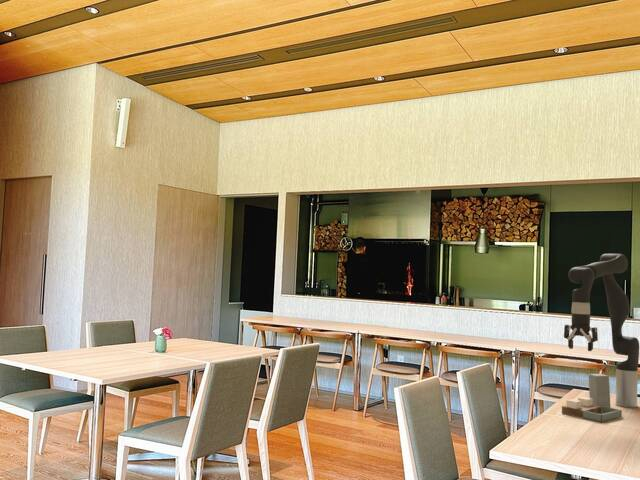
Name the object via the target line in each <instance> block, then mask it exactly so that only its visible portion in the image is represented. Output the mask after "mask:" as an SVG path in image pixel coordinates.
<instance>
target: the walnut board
mask: <svg viewBox="0 0 640 480" xmlns="http://www.w3.org/2000/svg"><path fill="white" fill-rule="evenodd" d="M583 411H587V412H592V413H597V414H598V413H602V410H601V407H600V406H595V405H592V406H583V405H581V408H578V409H574V408H569V407H567V404H566V405H562V406H561V414H563V415H570V416H573V417H577V418H581V417H582V419H583Z"/></svg>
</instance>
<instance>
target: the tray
mask: <svg viewBox="0 0 640 480" xmlns="http://www.w3.org/2000/svg"><path fill="white" fill-rule="evenodd" d="M622 411H623V410H622V409H618V408H614V407H611V408H609V407H604V406H602V410H601V413H598V414H597V413H592V412H587V411H583V418H584V419H583V418H582V419H583V420H589V421H593V422H597V423H605V422H609V421H613V420H617V419H621V418H622V415H623V414H622Z"/></svg>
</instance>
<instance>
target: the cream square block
mask: <svg viewBox="0 0 640 480" xmlns="http://www.w3.org/2000/svg"><path fill="white" fill-rule="evenodd" d="M566 405H567V407H569V408H574V409H578V408H581V401H579V400H578V399H572V398H571V399H566Z"/></svg>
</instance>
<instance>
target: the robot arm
mask: <svg viewBox="0 0 640 480" xmlns="http://www.w3.org/2000/svg"><path fill="white" fill-rule="evenodd" d="M628 264H629V263H628V259H627V257H626V255H624V254H622V253H603V254H602V255H601V256H600V257H599V261H597V262H596V261H595V262H592V263H590V264H587V265H581V266H579V265H578V266H575V267H572V268H570V270H569V271H568V279H569V281H570V282H572V283H573V284H582V286H581V287H580V288H576V289H573V290H572V298H571V299H572V301H571V302H572V303H571V324H565V325H564V328H563V338H564V339H566V340H567V343H568V344H567V346H568V348H569V349H570V350H571V349H572V350H573V349H574V338H575V337H577V336H578V337H579V336H580V337H584V338H585V339H586V340H587V351H588V352H592V351H593V350H594V343H595V342H598V340H599V337H598V336H599V335H598V327H595V326H594V327H591V326H590V325H591V303H590V301H591V299H590V297H591V291H592V287H593V284H594V281H595V280H597V279H599V278H601V277H602V280H603V284H604V289H605V295H606V301H607V303H606V304H607V309H608V313H609V314H608V315H609V320H610V326H611V328H610V329H611V340H612V349H613V351H614V353H615V354H616V355H620V356H627V359H626V360H623V361H619V362H617V363H616V365H615V366H616V369H615V380H616V381H615V405H617V406H619V407H625V408H637V407H638V384H639V383H638V379H639V378H638V377H639V376H638V375H639V373H638V369H639V357H640V341H639V339H638V338H637V337H635V336H628V335H627V336H626V335H623V330H622V329H623V325H624V323H625V322H626V320H627V318H628V317H629V315H630V312H631V309H630V302H629V297H628V295H627V294H626V292H625V291H624V290H623V288H621V286H620V285H619V284H618V283H617V281H616V280H615V276H614V274H622V273H624V272H626V270H627V269H628ZM570 330H571V332H570ZM590 333H591V334H590Z"/></svg>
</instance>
